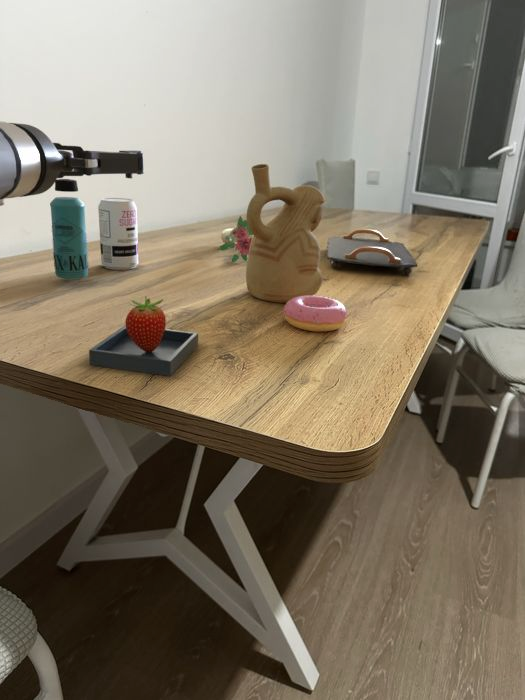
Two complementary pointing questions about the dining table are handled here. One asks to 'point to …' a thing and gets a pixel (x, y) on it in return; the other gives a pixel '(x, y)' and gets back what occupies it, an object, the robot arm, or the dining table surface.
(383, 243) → the serving tray
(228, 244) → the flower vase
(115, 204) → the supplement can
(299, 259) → the ceramic vessel
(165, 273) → the dining table surface
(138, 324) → the fruit
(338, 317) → the doughnut
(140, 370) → the dark gray square tray
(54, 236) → the beverage bottle
